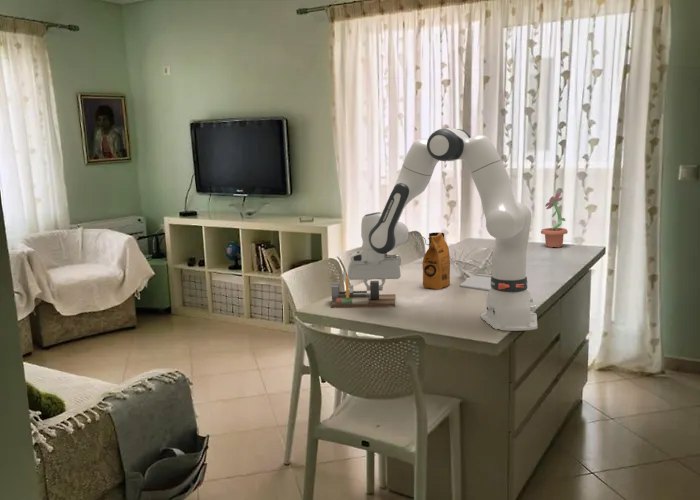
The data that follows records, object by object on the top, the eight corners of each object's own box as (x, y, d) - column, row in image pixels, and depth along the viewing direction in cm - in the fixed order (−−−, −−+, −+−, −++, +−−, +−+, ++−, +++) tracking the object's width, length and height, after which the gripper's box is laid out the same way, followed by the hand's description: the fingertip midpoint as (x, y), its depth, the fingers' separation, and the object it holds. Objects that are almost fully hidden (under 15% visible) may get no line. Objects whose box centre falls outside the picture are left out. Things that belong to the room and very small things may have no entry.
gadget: (491, 293, 243) (491, 284, 243) (458, 288, 253) (458, 279, 252) (517, 281, 260) (517, 273, 259) (486, 277, 270) (486, 269, 269)
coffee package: (418, 288, 253) (417, 236, 249) (432, 281, 263) (431, 231, 259) (440, 290, 248) (439, 237, 244) (453, 284, 258) (453, 233, 254)
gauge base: (395, 306, 227) (394, 288, 225) (331, 307, 229) (330, 289, 227) (395, 297, 240) (395, 279, 239) (335, 298, 242) (334, 280, 241)
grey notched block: (378, 301, 229) (378, 284, 228) (344, 302, 230) (343, 285, 229) (379, 297, 235) (378, 280, 234) (345, 297, 237) (345, 281, 235)
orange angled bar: (348, 298, 228) (348, 278, 227) (346, 298, 228) (345, 278, 227) (349, 296, 231) (348, 276, 229) (346, 296, 231) (346, 276, 229)
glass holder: (445, 265, 295) (445, 234, 293) (416, 265, 298) (416, 235, 295) (446, 261, 304) (445, 232, 301) (417, 261, 306) (416, 232, 304)
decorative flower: (550, 243, 343) (552, 190, 337) (573, 246, 332) (574, 191, 327) (535, 247, 333) (536, 192, 328) (558, 250, 323) (559, 193, 317)
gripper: (401, 252, 233) (401, 287, 236) (348, 253, 235) (349, 288, 237) (401, 255, 227) (401, 291, 229) (346, 257, 229) (347, 292, 231)
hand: (374, 290), depth 233 cm, fingers closed on grey notched block, 3 cm apart
